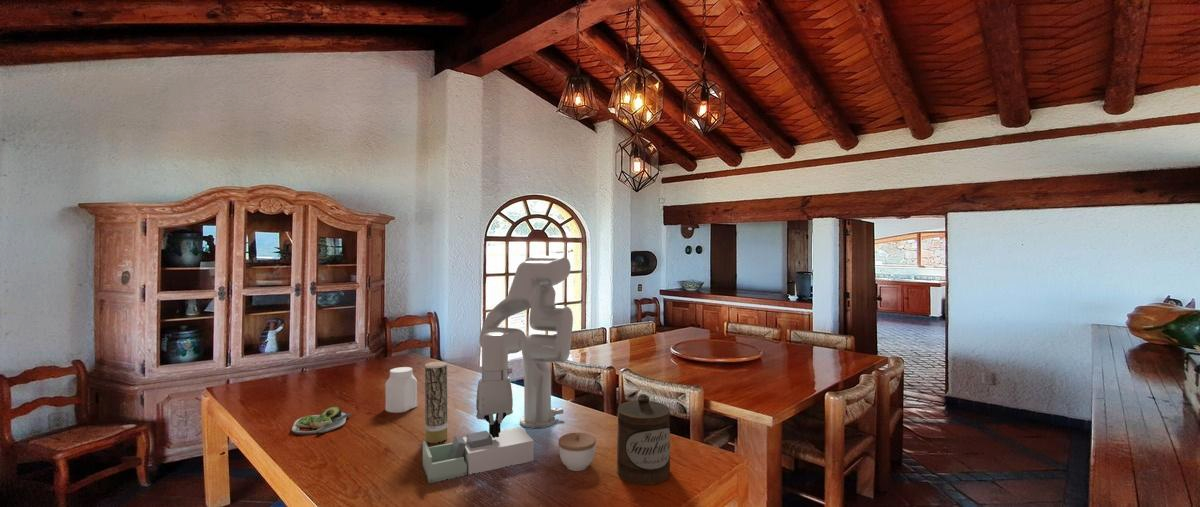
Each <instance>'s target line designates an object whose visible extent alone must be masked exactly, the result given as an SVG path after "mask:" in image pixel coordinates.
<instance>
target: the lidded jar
mask: <svg viewBox="0 0 1200 507" xmlns="http://www.w3.org/2000/svg"><path fill="white" fill-rule="evenodd" d="M596 443H597V441H596V437H595V436H594V435H592V434H590V433H585V432H570V433H566V434H564V435H562V436H560V437H559V439H558V452H559V453H558V454H559V456H560V457H559V458H560V460H561V462H562V463H563V465H564V466H565V467H566V468H567V469H568V470H570V471H572V472H573V471H574V472H580V471H584V470H586V469H587V468H588V467H589V465H590V464H591V463H592V461H593V460H594V457H595V454H596Z"/></svg>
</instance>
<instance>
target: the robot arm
mask: <svg viewBox="0 0 1200 507" xmlns="http://www.w3.org/2000/svg"><path fill="white" fill-rule="evenodd" d="M570 273H571V262H570V260H569V259H568V258H567V257H566V256H563V255H562V256H560V255H554V256H553V255H550V256H549V255H533V256H529V257H527V258H526V259H525V260H524V261H523V262H521V263H519V265H518V267H517V268H516V271H515V275H514V277H513V280H512V283H511V285H510V288H509V292H508V295H507V296H506V297H505V299H502V301H500V302H499V303H498V304H497V305H496V306H495V307H493V308H492V309H491V310H490V311H489V313H488V314H487V316H486V318H485V320H484V322H483V325H482V328H481V331H480V334H479V345H480V347H481V378H479V379H478V382H477V389H476V398H475V410H476V411H477V412H476V419H477V420H485V421H486V422H487V423H488V433H489V434H490V435H491V436H492V437H493V438H495V437H499V433H500V431H501V424H502V423H503V420H504V419H505V418H506V417H507V416H509V415H512V414H513V412H514V410H513V406H514V404H513V401H514V399H513V390H512V382H511V379H510V376H509V375H510V374H512V373H513V369H512V368H509V367H508V366H509V360H508V357H509V354H516V353H519V352H521V355H522V359H523V367H524V368H523V369H524V370H523V371H524V372H523V374H524V375H523V377H524V378H523V381H524V383H523V385H524V388H523V389H524V390H523V393H524V395H523V396H524V399H523V400H524V403H523V404H524V405H523V406H524V407H523V408H524V413H523V414H524V415H523V416H521V417H520V418H519V424H520V425H521V426H523V427H526V428H530V429H538V428H539V429H541V428H545V427H546V428H547V427H550V426H551V425H553V424H554V423H555V422H556V415H563V414H564V408H563V407H562V408H558V407H552V404H551V403H552V397H551V396H552V377H551V376H552V374H551V370H550V366H549V365H548V363H556V364H559V363H562V364H563V363H565V362H566V361H568V359H569V357H570V352H571V344H572V337H573V336H572V334H573V325H574V315H573V312H572V309H571V308H570V307H569V306H566V305H557V304H556V302H555V301H556V291H555V288H554V286H556V285H559V284H560V283H562V282H563V281H565V280H566V279H567V278H568V277H569V276H570ZM529 309H530V311H529V326H530V328H531V329H532V330H535V331H541V332H543V331H544V332H556V335H553V334H542V333H541V334H539V333H538V334H537V333H532V334H528V335H527V336H526V334H525V332H524V331H523V330H522V329H519V328H512V327H502V326H501V327H500V325H501V323H502V322H504V320H507V319H508V318H510V317H512V316H515V315H517V314H519V313H522V312H524V311H526V310H527V311H528V310H529ZM494 415H495V419H494Z"/></svg>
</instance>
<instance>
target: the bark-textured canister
mask: <svg viewBox="0 0 1200 507" xmlns="http://www.w3.org/2000/svg"><path fill="white" fill-rule="evenodd" d="M424 365H425V366H424V380H425V382H424V390H425V393H424V394H425V395H424V396H425V397H424V400H425V403H424V404H425V406H424V407H425V408H424V409H425V411H424V413H425V415H424V416H425V418H424V419H425V420H424V422H425V424H424V425H425V441H426V443H428V442H429V444H439V443H438V442H440V443H443V442H445V441H446V440H447V439H448V362H446V361H430V362H428V363H425V364H424ZM444 440H445V441H444ZM442 441H443V442H442Z"/></svg>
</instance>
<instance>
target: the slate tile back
mask: <svg viewBox="0 0 1200 507" xmlns="http://www.w3.org/2000/svg"><path fill="white" fill-rule="evenodd" d="M466 437H467V442H468V444H469V445H470V447H471V448H477V447H482V446H487V445H492V436H491V435H490V434H489V431H488V430H482V431H477V432H471V433H467V434H466Z"/></svg>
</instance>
